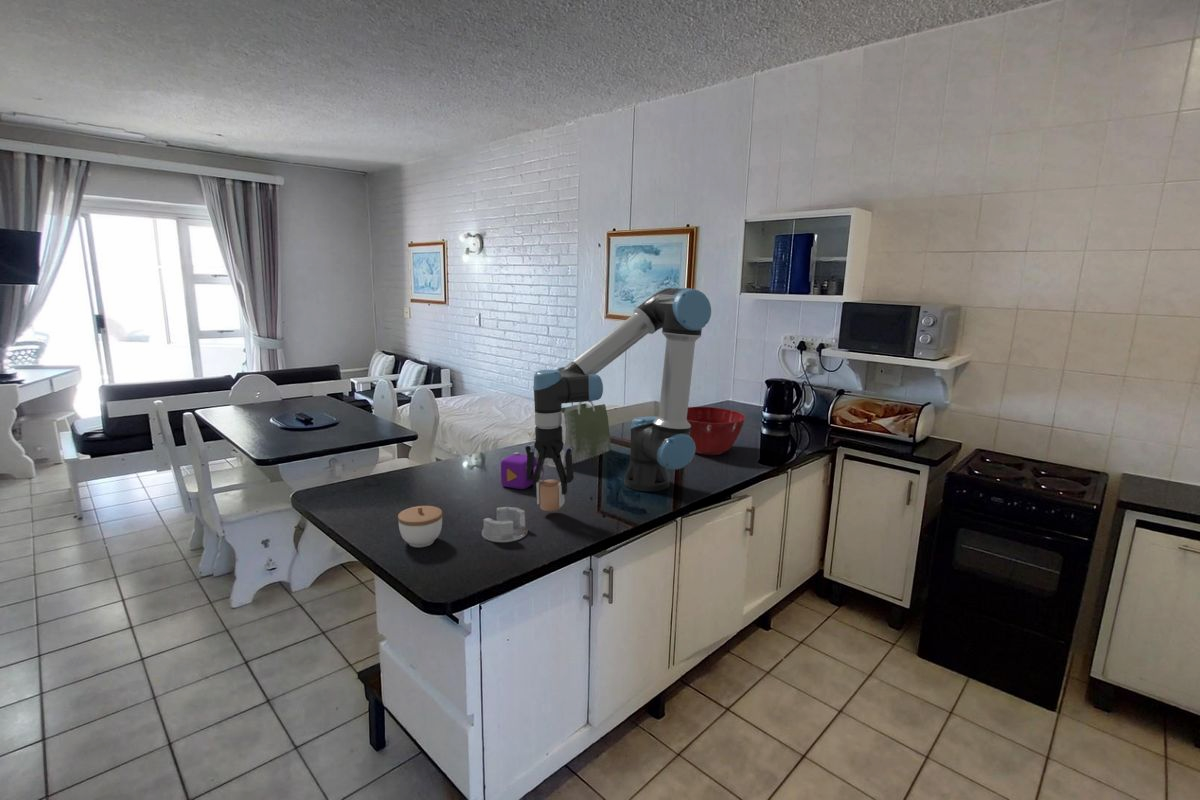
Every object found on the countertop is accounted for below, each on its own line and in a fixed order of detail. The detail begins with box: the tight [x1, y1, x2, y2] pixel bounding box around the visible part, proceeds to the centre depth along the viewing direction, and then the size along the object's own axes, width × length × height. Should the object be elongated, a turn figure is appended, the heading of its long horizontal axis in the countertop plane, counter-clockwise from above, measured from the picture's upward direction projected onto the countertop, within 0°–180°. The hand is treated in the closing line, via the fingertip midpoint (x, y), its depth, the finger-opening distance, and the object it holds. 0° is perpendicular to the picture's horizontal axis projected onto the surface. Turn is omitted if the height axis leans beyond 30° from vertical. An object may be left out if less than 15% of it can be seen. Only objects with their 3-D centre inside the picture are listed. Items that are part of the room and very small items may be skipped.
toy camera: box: [500, 451, 545, 490], centre depth 185 cm, size 11×14×10 cm
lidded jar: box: [397, 505, 443, 548], centre depth 143 cm, size 11×11×9 cm
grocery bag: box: [535, 401, 611, 469], centre depth 217 cm, size 32×14×23 cm, turn 146°
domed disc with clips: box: [481, 506, 528, 544], centre depth 149 cm, size 12×12×5 cm
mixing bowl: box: [687, 406, 746, 456], centre depth 229 cm, size 28×28×16 cm
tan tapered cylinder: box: [539, 478, 562, 512], centre depth 161 cm, size 6×6×8 cm
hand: (550, 503), depth 162 cm, fingers closed on tan tapered cylinder, 6 cm apart
